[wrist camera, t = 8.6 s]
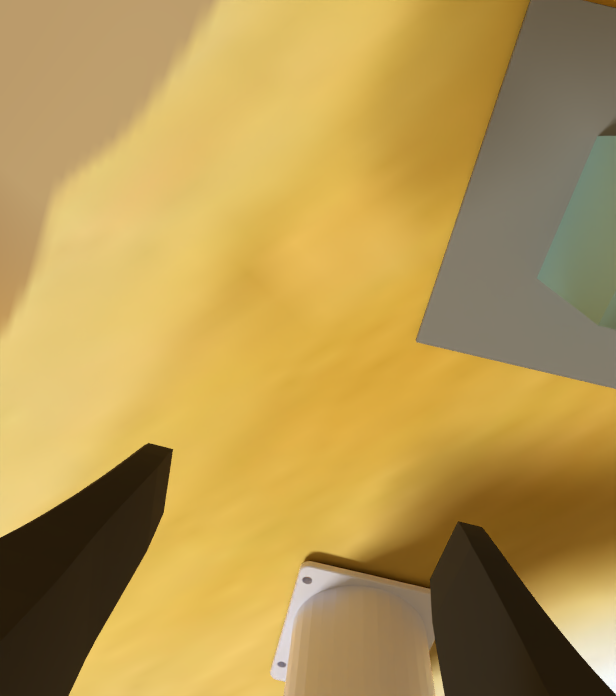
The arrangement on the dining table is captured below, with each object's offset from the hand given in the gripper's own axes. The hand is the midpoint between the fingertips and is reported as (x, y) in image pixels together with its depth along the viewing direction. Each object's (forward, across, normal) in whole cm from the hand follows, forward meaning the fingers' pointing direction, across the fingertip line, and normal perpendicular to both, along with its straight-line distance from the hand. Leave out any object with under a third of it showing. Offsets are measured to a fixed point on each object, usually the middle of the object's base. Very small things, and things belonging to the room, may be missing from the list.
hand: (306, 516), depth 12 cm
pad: (+9, -9, -8) cm, 15 cm away
